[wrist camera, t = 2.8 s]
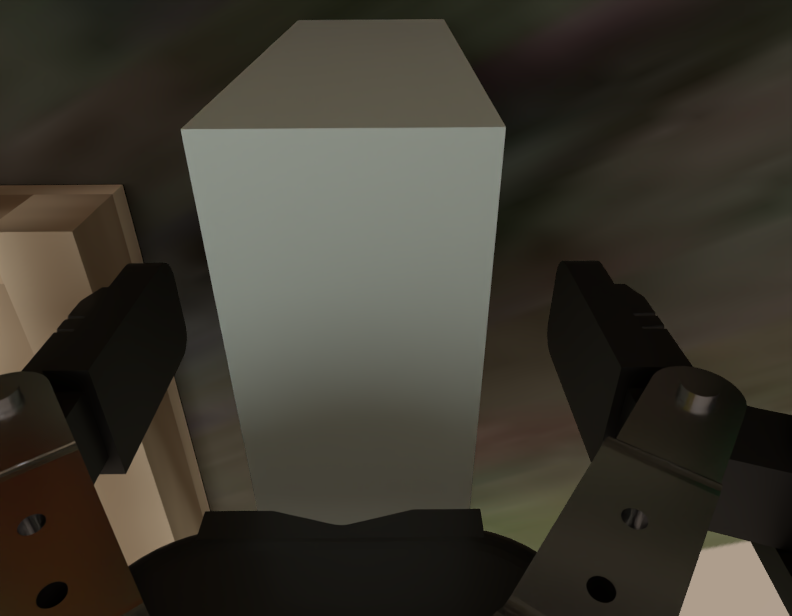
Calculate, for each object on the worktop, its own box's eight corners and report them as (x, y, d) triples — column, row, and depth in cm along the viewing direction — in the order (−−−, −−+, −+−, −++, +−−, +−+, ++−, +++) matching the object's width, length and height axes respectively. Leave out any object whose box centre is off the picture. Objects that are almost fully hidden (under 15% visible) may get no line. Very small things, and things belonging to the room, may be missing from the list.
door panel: (448, 19, 12) (517, 126, 5) (434, 389, 18) (459, 675, 11) (294, 19, 12) (169, 130, 5) (327, 390, 18) (285, 676, 11)
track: (122, 184, 14) (71, 231, 12) (225, 566, 22) (206, 636, 20) (-215, 186, 14) (-327, 234, 12) (11, 568, 22) (-31, 638, 20)
